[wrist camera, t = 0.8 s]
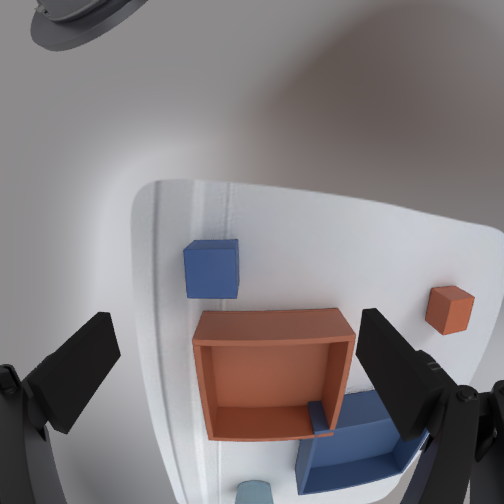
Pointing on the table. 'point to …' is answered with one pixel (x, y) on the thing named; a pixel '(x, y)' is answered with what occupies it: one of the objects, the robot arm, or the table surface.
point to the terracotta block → (449, 309)
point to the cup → (254, 493)
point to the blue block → (212, 269)
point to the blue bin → (352, 446)
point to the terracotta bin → (271, 371)
